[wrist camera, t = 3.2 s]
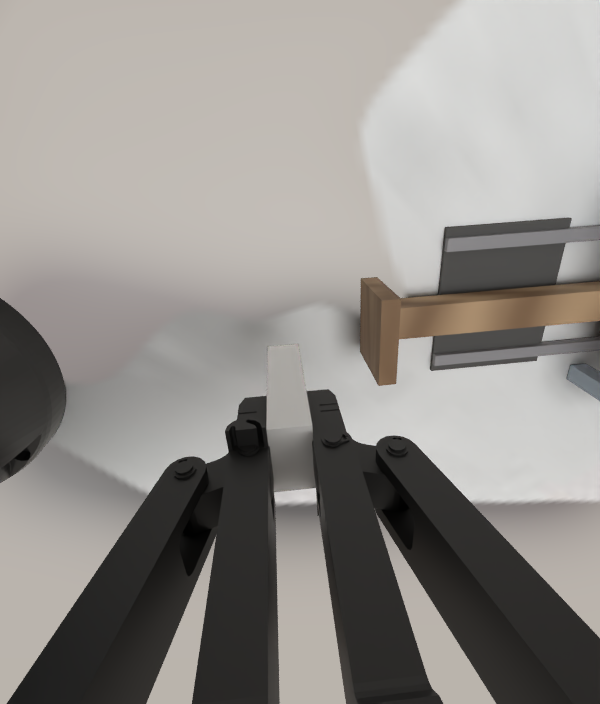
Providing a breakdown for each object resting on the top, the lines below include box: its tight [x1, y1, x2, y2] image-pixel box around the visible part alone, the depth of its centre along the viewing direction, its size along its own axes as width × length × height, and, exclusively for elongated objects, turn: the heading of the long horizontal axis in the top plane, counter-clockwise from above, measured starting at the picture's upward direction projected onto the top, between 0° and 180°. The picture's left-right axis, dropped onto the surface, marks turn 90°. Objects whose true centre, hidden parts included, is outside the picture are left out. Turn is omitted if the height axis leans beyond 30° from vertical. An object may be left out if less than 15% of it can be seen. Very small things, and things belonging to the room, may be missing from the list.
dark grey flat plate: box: [430, 218, 572, 371], centre depth 25 cm, size 8×10×1 cm
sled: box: [360, 277, 600, 386], centre depth 22 cm, size 24×6×6 cm, turn 94°
